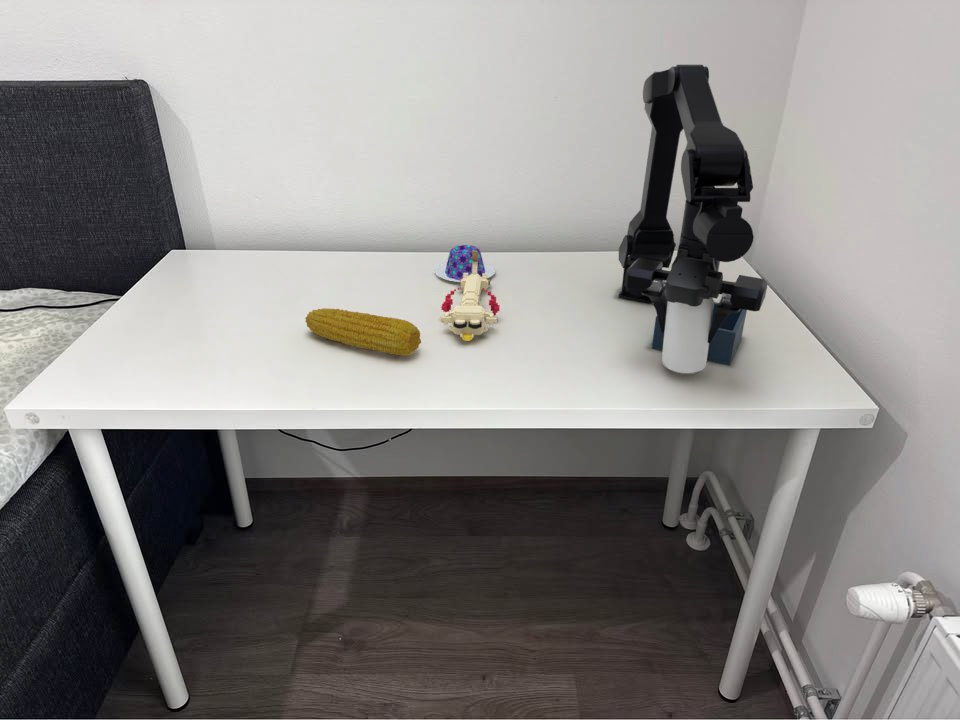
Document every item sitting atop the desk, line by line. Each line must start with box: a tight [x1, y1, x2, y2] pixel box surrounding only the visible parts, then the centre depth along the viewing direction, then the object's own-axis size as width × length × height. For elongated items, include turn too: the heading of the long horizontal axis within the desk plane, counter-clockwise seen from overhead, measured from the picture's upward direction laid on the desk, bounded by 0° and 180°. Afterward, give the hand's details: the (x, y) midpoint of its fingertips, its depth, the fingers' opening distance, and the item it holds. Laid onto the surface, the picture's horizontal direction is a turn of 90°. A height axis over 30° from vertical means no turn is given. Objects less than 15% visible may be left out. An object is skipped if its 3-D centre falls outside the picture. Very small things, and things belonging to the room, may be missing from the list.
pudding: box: [434, 244, 496, 283], centre depth 140 cm, size 12×12×5 cm
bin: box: [651, 301, 748, 366], centre depth 114 cm, size 12×10×6 cm
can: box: [661, 298, 715, 375], centre depth 103 cm, size 6×6×12 cm
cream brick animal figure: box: [440, 251, 500, 342], centre depth 123 cm, size 10×9×25 cm
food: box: [304, 307, 422, 356], centre depth 113 cm, size 21×6×6 cm, turn 66°
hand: (686, 337), depth 104 cm, fingers closed on can, 6 cm apart
